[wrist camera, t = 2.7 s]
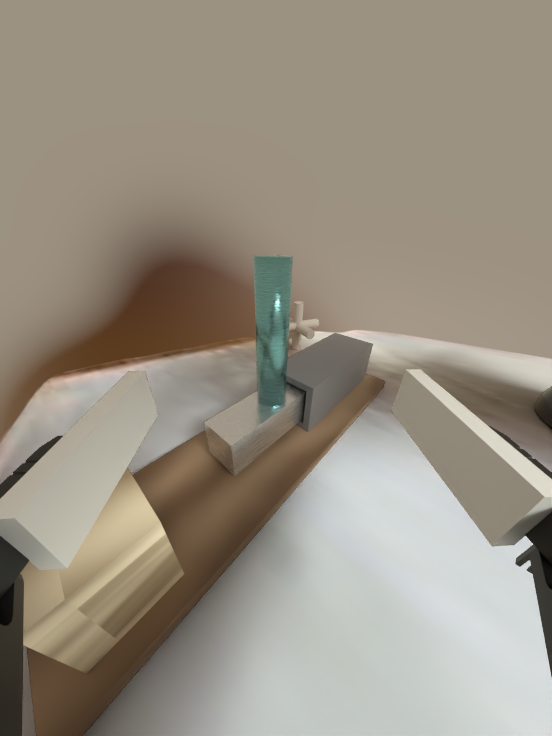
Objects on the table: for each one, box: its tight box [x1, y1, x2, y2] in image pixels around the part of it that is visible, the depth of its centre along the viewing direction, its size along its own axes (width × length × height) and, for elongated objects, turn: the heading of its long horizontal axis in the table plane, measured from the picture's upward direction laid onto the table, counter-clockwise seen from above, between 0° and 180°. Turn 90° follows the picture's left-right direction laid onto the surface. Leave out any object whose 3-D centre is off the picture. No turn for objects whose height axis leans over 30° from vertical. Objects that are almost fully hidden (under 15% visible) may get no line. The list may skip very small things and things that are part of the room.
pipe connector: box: [289, 302, 319, 350], centre depth 48 cm, size 10×10×10 cm
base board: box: [27, 374, 385, 736], centre depth 27 cm, size 12×42×1 cm, turn 138°
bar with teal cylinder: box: [204, 255, 306, 476], centre depth 25 cm, size 4×24×18 cm, turn 138°
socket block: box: [20, 468, 184, 674], centre depth 14 cm, size 9×6×7 cm, turn 48°
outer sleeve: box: [286, 333, 373, 432], centre depth 32 cm, size 6×16×6 cm, turn 138°
